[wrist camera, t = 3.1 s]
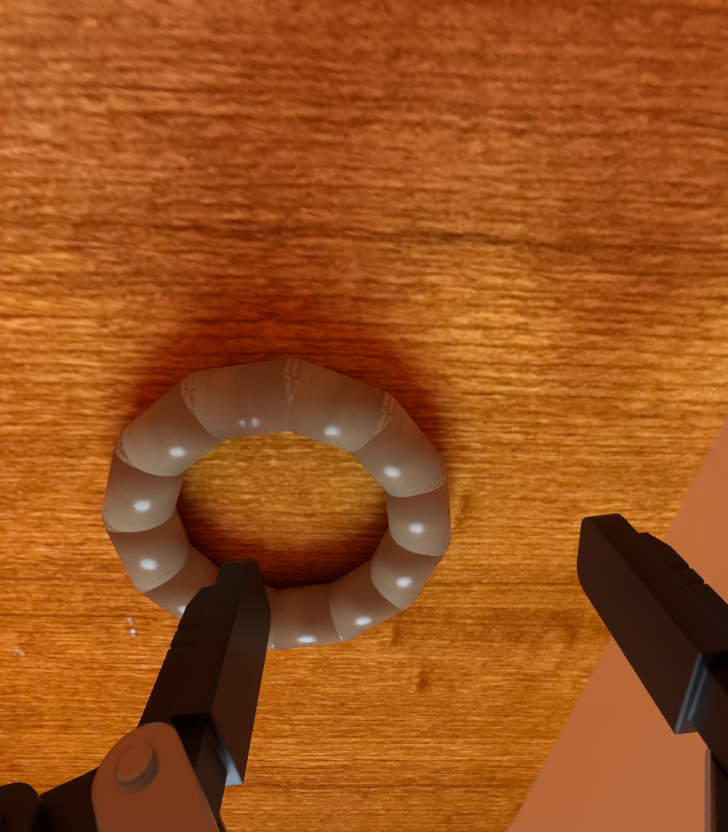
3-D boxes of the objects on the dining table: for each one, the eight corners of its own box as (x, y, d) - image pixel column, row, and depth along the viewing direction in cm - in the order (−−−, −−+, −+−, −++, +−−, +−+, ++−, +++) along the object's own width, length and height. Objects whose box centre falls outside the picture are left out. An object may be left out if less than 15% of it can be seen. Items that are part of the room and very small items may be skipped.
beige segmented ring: (69, 379, 11) (23, 407, 10) (433, 329, 11) (448, 350, 10) (182, 627, 16) (163, 676, 14) (449, 594, 15) (461, 640, 14)
